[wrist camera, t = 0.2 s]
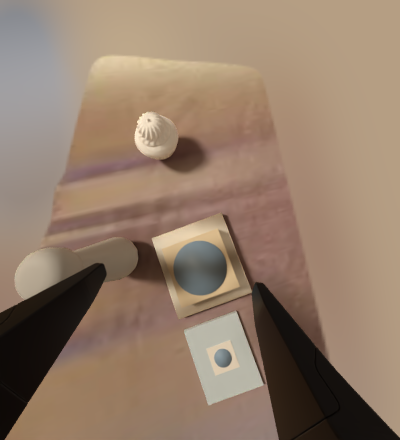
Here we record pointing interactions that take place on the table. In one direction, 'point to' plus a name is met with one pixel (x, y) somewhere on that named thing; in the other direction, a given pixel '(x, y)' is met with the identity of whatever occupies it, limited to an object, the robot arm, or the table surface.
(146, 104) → the table surface
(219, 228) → the foundation
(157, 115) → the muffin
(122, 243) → the beige mushroom knob
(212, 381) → the pale grey rectangular tile
